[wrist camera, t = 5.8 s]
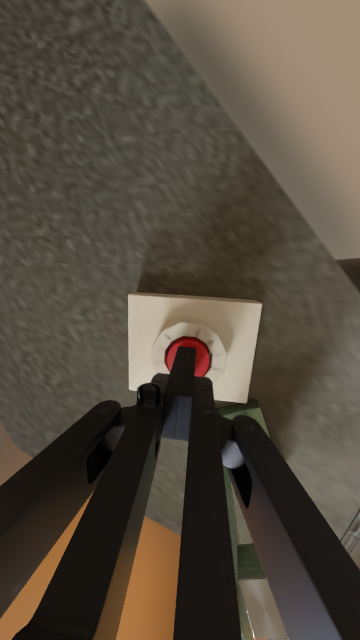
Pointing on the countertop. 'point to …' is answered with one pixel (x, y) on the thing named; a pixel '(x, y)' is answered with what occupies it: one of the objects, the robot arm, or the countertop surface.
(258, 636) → the lever
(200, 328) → the white button base
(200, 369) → the stop button
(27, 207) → the countertop surface
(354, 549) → the coffee box
